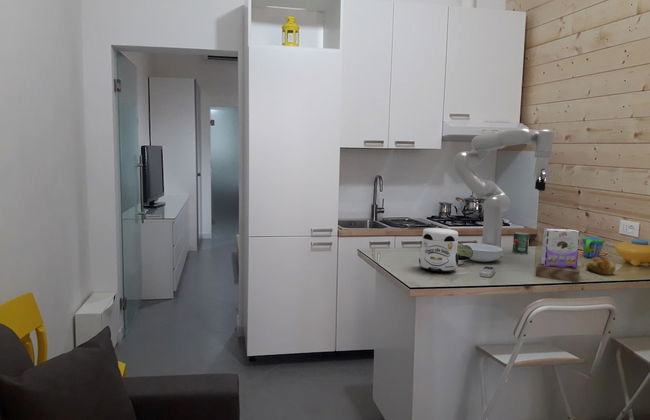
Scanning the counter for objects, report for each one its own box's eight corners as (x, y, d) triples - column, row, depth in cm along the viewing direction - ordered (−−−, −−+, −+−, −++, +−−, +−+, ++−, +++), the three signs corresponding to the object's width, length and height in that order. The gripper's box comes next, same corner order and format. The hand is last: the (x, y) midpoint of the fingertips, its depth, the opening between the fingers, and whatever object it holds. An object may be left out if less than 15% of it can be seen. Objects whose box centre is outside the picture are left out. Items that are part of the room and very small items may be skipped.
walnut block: (535, 277, 227) (536, 266, 226) (538, 271, 239) (539, 260, 238) (577, 283, 219) (579, 272, 218) (579, 276, 231) (580, 266, 230)
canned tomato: (509, 251, 283) (510, 231, 281) (521, 251, 285) (522, 231, 284) (518, 254, 275) (520, 234, 274) (530, 254, 277) (532, 234, 276)
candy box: (572, 265, 231) (575, 229, 229) (577, 268, 225) (580, 231, 223) (540, 263, 232) (543, 227, 230) (544, 266, 226) (547, 229, 224)
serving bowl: (493, 267, 241) (494, 252, 241) (451, 259, 254) (452, 246, 253) (507, 260, 258) (508, 247, 257) (467, 254, 270) (468, 241, 270)
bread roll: (580, 269, 244) (582, 253, 243) (597, 269, 247) (599, 252, 246) (601, 276, 232) (603, 259, 231) (619, 275, 234) (621, 258, 234)
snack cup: (588, 254, 285) (590, 236, 284) (608, 257, 277) (610, 239, 276) (574, 256, 276) (576, 237, 275) (593, 260, 268) (595, 241, 266)
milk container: (429, 275, 219) (432, 234, 217) (411, 266, 236) (414, 227, 234) (465, 274, 224) (468, 233, 222) (445, 265, 241) (448, 227, 238)
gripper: (532, 154, 260) (529, 188, 262) (537, 154, 243) (533, 190, 245) (548, 155, 258) (545, 189, 260) (554, 155, 241) (550, 191, 243)
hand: (539, 189), depth 253 cm, fingers open, 9 cm apart
